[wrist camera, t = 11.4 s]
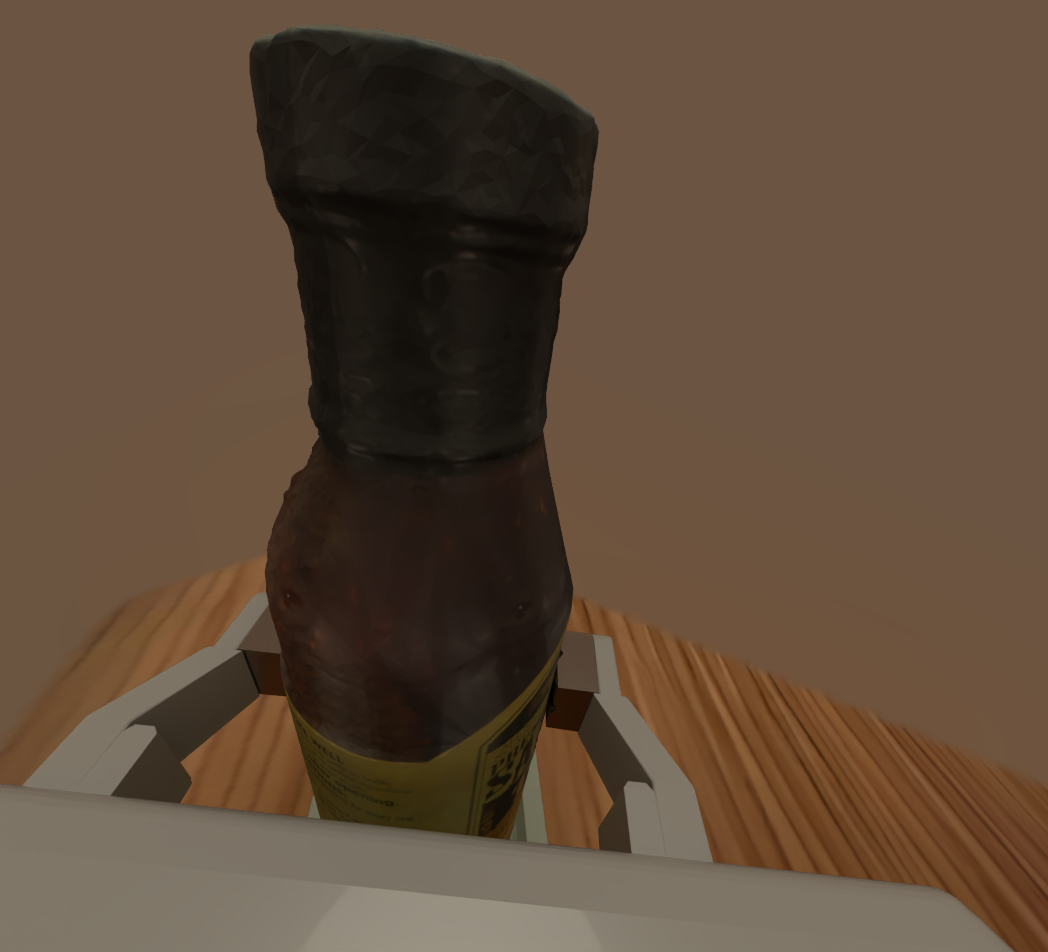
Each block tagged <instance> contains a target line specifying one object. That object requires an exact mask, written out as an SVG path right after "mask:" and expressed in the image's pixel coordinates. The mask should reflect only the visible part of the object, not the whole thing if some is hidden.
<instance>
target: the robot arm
mask: <svg viewBox="0 0 1048 952" xmlns="http://www.w3.org/2000/svg"><path fill="white" fill-rule="evenodd" d="M280 654H281V647H280V642H279V639H278V637H277V633H276V630H275V625H274V623H273V620H272V617H271V613H270V610H269V603H268V598H267V593H261V592H259V593H258V594H256V595H255V596H253V597H252V598H251V600H250V601H249V602H248V603H247V605H246V606H245V607H244V609H243V610H242V611H241V612H240V614H239V615H238V616H237V617H236V619H235V620H234V621H233V623H232V624H231V625H230V626H229V628H228V629H227V630H226V631H225V633H224V634H223V635H222V637H221V638H220V639H219V640H218V642H217V643H216V644H215V646H214V647H210V646H207V647H205V648H204V649H202V650H200V651H198V652H197V653H195V654H193V655H192V656H190V657H188V658H186V659H185V660H183V661H181V662H179V663H178V664H176V665H174V666H172V667H171V668H169V669H167V670H166V671H164V672H162V673H160V674H159V675H157V676H155V677H153V678H152V679H150V680H148V681H147V682H145V683H143V684H141V685H140V686H138V687H136V688H134V689H133V690H131V691H129V692H128V693H126V694H124V695H122V696H121V697H119V698H117V699H115V700H114V701H112V702H110V703H109V704H107V705H105V706H103V707H102V708H100V709H98V710H96V711H95V712H93V713H91V714H90V715H88V716H86V717H85V718H84V720H83V721H82V722H81V723H80V724H79V725H78V726H77V727H76V728H75V729H74V730H73V731H72V732H71V734H70V735H69V736H68V737H67V738H66V739H65V740H64V741H63V742H62V743H61V744H60V745H59V746H58V747H57V749H56V750H55V751H54V752H53V753H52V754H51V755H50V756H49V757H48V758H47V759H46V760H45V761H44V763H43V764H42V765H41V766H40V767H39V768H38V769H37V770H36V771H35V772H34V773H33V774H32V775H31V777H30V778H29V779H28V780H27V781H26V782H25V783H24V784H23V785H22V786H18V785H9V784H0V952H1014V951H1013V950H1012V949H1011V948H1010V947H1009V946H1008V945H1007V944H1006V943H1005V942H1004V941H1003V940H1002V939H1001V938H1000V937H999V936H997V935H996V934H995V933H994V932H993V931H992V930H991V929H990V928H989V927H988V926H987V925H986V924H984V923H983V922H982V921H981V920H980V919H979V918H978V917H977V916H976V915H975V914H974V913H972V912H971V911H970V910H969V909H968V908H967V907H966V906H964V905H963V904H962V903H961V902H960V901H959V900H958V899H956V898H955V897H953V896H952V895H950V894H949V893H947V892H945V891H943V890H941V889H937V888H933V887H929V886H923V885H914V884H905V883H896V882H887V881H878V880H869V879H860V878H851V877H842V876H833V875H824V874H815V873H806V872H797V871H788V870H778V869H769V868H760V867H751V866H742V865H733V864H724V863H715V862H713V860H712V856H711V852H710V849H709V845H708V841H707V837H706V833H705V829H704V825H703V821H702V817H701V814H700V810H699V806H698V802H697V798H696V794H695V790H694V787H693V786H692V784H691V783H690V782H689V780H688V779H687V778H686V776H685V775H684V774H683V772H682V771H681V769H680V768H679V767H678V765H677V764H676V763H675V761H674V760H673V759H672V757H671V756H670V755H669V753H668V752H667V751H666V749H665V748H664V747H663V745H662V744H661V743H660V741H659V740H658V739H657V737H656V736H655V734H654V733H653V732H652V730H651V729H650V728H649V726H648V725H647V724H646V722H645V721H644V720H643V718H642V717H641V716H640V714H639V713H638V712H637V710H636V709H635V708H634V706H633V705H632V704H631V702H630V701H629V699H628V698H627V697H622V696H621V691H620V685H619V679H618V673H617V666H616V660H615V654H614V648H613V641H612V639H611V637H609V636H602V635H593V634H589V633H580V632H571V631H566V632H565V636H564V639H563V643H562V647H561V651H560V657H559V660H558V662H557V666H556V669H555V673H554V677H553V684H552V686H551V690H550V693H549V697H548V702H547V706H546V727H549V728H556V729H562V730H569V731H576V732H578V735H579V737H580V739H581V741H582V743H583V745H584V747H585V749H586V750H587V752H588V754H589V756H590V758H591V760H592V762H593V764H594V766H595V768H596V770H597V772H598V773H599V775H600V777H601V779H602V781H603V783H604V785H605V787H606V789H607V791H608V793H609V795H610V796H611V798H612V800H613V802H614V804H613V806H612V807H611V809H610V811H609V812H608V814H607V815H606V817H605V819H604V820H603V822H602V823H601V825H600V827H599V828H598V833H599V847H600V850H598V849H589V848H580V847H571V846H561V845H552V844H543V843H534V842H525V841H516V840H507V839H498V838H489V837H480V836H471V835H462V834H453V833H444V832H435V831H426V830H417V829H408V828H399V827H390V826H381V825H372V824H363V823H354V822H344V821H335V820H326V819H317V818H308V817H299V816H290V815H281V814H272V813H263V812H254V811H245V810H236V809H227V808H218V807H209V806H200V805H191V804H181V803H180V802H181V801H182V799H183V797H184V796H185V794H186V792H187V791H188V789H189V788H190V786H191V784H192V782H191V777H190V775H189V774H188V773H187V771H186V770H185V768H184V767H183V766H182V764H181V763H180V762H181V761H182V760H183V759H185V758H186V757H187V756H188V755H189V754H191V753H192V752H193V751H194V750H195V749H197V748H198V747H199V746H200V745H201V744H203V743H204V742H205V741H206V740H207V739H209V738H210V737H211V736H212V735H214V734H215V733H216V732H217V731H218V730H220V729H221V728H222V727H223V726H224V725H226V724H227V723H228V722H229V721H230V720H232V719H233V718H234V717H235V716H236V715H238V714H239V713H240V712H241V711H242V710H244V709H245V708H246V707H247V706H248V705H250V704H251V703H252V702H253V701H254V700H256V699H257V698H258V697H259V696H260V695H259V694H265V695H276V696H286V692H285V688H284V685H283V681H282V676H281V663H280Z"/></svg>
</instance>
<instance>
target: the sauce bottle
mask: <svg viewBox="0 0 1048 952" xmlns="http://www.w3.org/2000/svg"><path fill="white" fill-rule="evenodd" d="M250 77H251V84H252V91H253V97H254V103H255V109H256V115H257V133H258V136H259V139H260V143H261V146H262V149H263V154H264V161H265V171H266V179H267V182H268V184H269V186H270V188H271V191H272V194H273V197H274V201H275V204H276V207H277V210H278V212H279V213H280V215H281V216H282V217H283V219H284V220H285V222H286V224H287V225H288V228H289V232H290V236H291V239H292V243H293V246H294V261H295V264H296V268H297V272H298V284H297V285H298V290H299V294H300V299H301V308H302V311H303V315H304V319H305V325H304V328H305V332H306V338H307V347H308V359H309V364H310V368H311V376H312V377H311V378H312V385H311V387H310V388H309V397H308V405H309V408H310V412H311V417H312V419H313V421H314V424H315V426H316V427H317V428H318V435H319V436H320V437H319V438H318V440H317V441H316V443H315V444H314V446H313V447H312V454H311V455H310V458H309V459H308V463H307V465H306V466H305V468H304V469H302V470H300V471H299V472H297V473H296V474H294V475H293V477H292V479H291V484H290V487H289V489H288V490H287V491H286V492H285V493H284V501H283V504H282V507H281V509H280V511H279V514H278V516H277V518H276V520H275V523H274V526H273V528H272V535H271V537H270V540H269V542H268V548H267V552H268V554H267V563H266V568H265V578H266V593H267V598H268V603H269V610H270V613H271V617H272V620H273V623H274V625H275V630H276V633H277V637H278V639H279V642H280V647H281V654H280V663H281V676H282V681H283V685H284V688H285V692H286V696H287V699H288V703H289V707H290V711H291V714H292V718H293V721H294V725H295V729H296V732H297V736H298V739H299V743H300V746H301V750H302V753H303V757H304V761H305V764H306V768H307V771H308V775H309V778H310V782H311V785H312V789H313V793H314V797H315V801H316V805H317V809H318V812H319V816H320V819H326V820H335V821H344V822H354V823H363V824H372V825H381V826H390V827H399V828H408V829H417V830H426V831H435V832H444V833H453V834H462V835H471V836H480V837H489V838H498V839H507V840H510V837H511V834H512V830H513V827H514V823H515V819H516V816H517V812H518V808H519V805H520V801H521V797H522V793H523V790H524V786H525V782H526V779H527V775H528V772H529V768H530V764H531V761H532V759H533V755H534V751H535V748H536V743H537V740H538V735H539V732H540V729H541V726H542V722H543V719H544V716H545V711H546V706H547V702H548V697H549V693H550V690H551V686H552V684H553V677H554V673H555V669H556V666H557V662H558V660H559V657H560V651H561V647H562V643H563V639H564V636H565V632H566V628H567V625H568V621H569V617H570V613H571V608H572V600H573V585H572V579H571V574H570V570H569V566H568V562H567V557H566V552H565V547H564V542H563V537H562V532H561V527H560V522H559V517H558V512H557V507H556V502H555V498H554V492H553V487H552V483H551V477H550V472H549V467H548V460H547V453H546V447H545V440H544V434H543V428H544V425H545V422H546V418H547V406H546V391H547V382H548V376H549V370H550V364H551V358H552V351H553V343H554V339H555V336H556V333H557V329H558V320H559V313H560V297H561V290H562V278H563V276H564V273H565V271H566V269H567V268H568V266H569V264H570V263H571V261H572V260H573V258H574V256H575V254H576V252H577V250H578V247H579V246H580V244H581V241H582V239H583V237H584V235H585V233H586V230H587V225H588V211H589V204H590V197H591V191H592V179H593V170H594V162H595V157H596V152H597V146H598V134H599V131H598V127H597V124H596V123H595V120H594V117H593V115H592V114H591V113H590V112H589V110H588V109H587V108H585V107H583V106H581V105H579V104H577V103H575V102H574V101H573V100H572V99H571V98H570V97H569V96H568V95H567V94H566V93H565V92H564V91H563V90H561V89H559V88H557V87H555V86H554V85H552V84H551V83H549V82H547V81H545V80H544V79H542V78H540V77H537V76H535V75H532V74H530V73H528V72H526V71H525V70H523V69H521V68H520V67H518V66H515V65H513V64H511V63H509V62H506V61H504V60H502V59H500V58H497V57H486V56H479V55H477V54H474V53H471V52H469V51H466V50H464V49H461V48H458V47H455V46H452V45H448V44H446V43H442V42H437V41H432V40H428V39H424V38H420V37H416V36H411V35H404V34H398V33H391V32H387V31H384V30H381V29H378V28H375V29H357V28H352V27H348V26H343V25H342V26H341V25H311V26H295V27H290V28H287V29H285V30H283V31H282V32H280V33H278V34H276V35H273V34H265V35H263V36H262V37H260V38H258V39H256V40H255V42H254V44H253V46H252V48H251V51H250Z"/></svg>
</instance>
